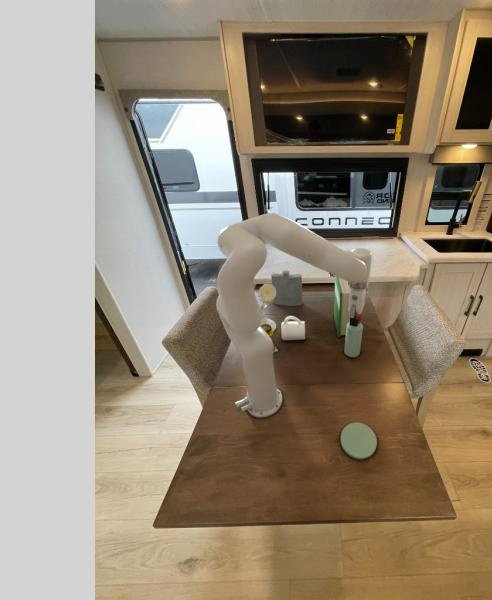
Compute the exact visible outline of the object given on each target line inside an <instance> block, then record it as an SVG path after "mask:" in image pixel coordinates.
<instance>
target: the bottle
mask: <svg viewBox="0 0 492 600" xmlns="http://www.w3.org/2000/svg"><path fill="white" fill-rule="evenodd" d="M349 324H350V322H348V323H347V328H346V335H345V338H344V339H345V341H344V349H343V350H344V355H346V356H347V357H349V358H357V357H358V356H359V355H360V353H361V346H362V338H363V332H364V331H363V330H364V325H363V324H362V322H360V324H358V326H357V327H355V326H350V325H349Z"/></svg>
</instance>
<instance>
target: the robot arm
mask: <svg viewBox="0 0 492 600" xmlns="http://www.w3.org/2000/svg"><path fill="white" fill-rule="evenodd" d="M216 242H217V246H218V249H219V251H220V252H221V254H222V255H224V257H226V258H227V259H226V260H225V262H224V263H223V265H222V266H221V268H220V270H219V272H218V275H217V277H216V286H217V290H218V291H217V292H218V296H217V298H216V311H217V313H218V316H219V319H220V321H221V323H222V326H223V328H224V331H225V332H226V335H227V337H228V338H229V340H230V342H232V344H233V346H234V347H235V349H236V350H237V351H238V353H239V355H240V357H241V360H242V365H241V367H242V372H243V376H244V382H245V385H246V388H247V393H246V394H245V395H246V396H245V397H244V398H243V399H240V400H237V401H235V402H234V405H235V407H236V409H238V408H240V409H241V412H242V413H243V412H244V411H247V412H248V413H249V414H250V415H251V416H253V417H256V418H267V417H270V416H272V415H274V414H275V413H277V411H279V410H280V408H281V406H282V404H283V394H282V392H281V390H280V389H279V388H278V387H277V381H276V374H275V365H274V353H273V351H274V345H273V342H272V340H271V338H270V337H269V335H268V334H267V333H266V332H265V331H264V330H263V329H262V327H260V324H261V312H260V308H259V305H258V304H259V303H258V302H259V301H258V300H257V295H256V293H255V289H254V280H255V277H256V276H257V274H258V273H259V272H260V271H261V269H263V267H264V265H265V263H266V261H267V258H268V249H267V247H266V245H267V244H268V245H270V246H272V247H273V248H274V249H277V250H278V251H280V252H283V253H284V254H287V255H288V256H291V257H293V258H296V259H298V260H301V261H302V262H305V263H306V264H308V265H311V266H313V267H315V268H317V269H320V270H322V271H325V272H327V273H328V274H332V275H334V276H335V275H336V276H338V277H340V278H342V279H344V280H346V281H348V287H349V288H350V296H349V312H351V314H350V324H349V325H350V326H355V327H357V326H358V314H361V315H362V313H363V310H364V307H365V305H366V297H367V296H366V295H367V289H368V288H369V285H370V275H371V265H372V257H373V254H372V251H370V250H369V249H368V248H364V247H363V248H362V247H358V248H357V247H356V248H354V249H352V250H343V249H342V248H340V247H338V246H337V245H335V244H334V243H332V242H330V241H329V240H327V239H325V238H324V237H322V236H320V235H318V234H317V233H315V232H314V231H311V230H310V229H308V228H306V226H303V225H302V224H300V223H298V222H296V221H294V220H293V219H291V218H288V217H286V216H283V215H281V214H279V213H276V212H269V213H264V214H261V215H257V216H253V217H251V218H248V219H245V220H241V221H239V222H235V223H232V224H229V225H227V226H225V227H224V228H223V229H222V230H221V231H220V232H219V234H218V236H217V241H216ZM355 313H356V315H355Z"/></svg>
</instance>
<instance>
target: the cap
mask: <svg viewBox="0 0 492 600" xmlns="http://www.w3.org/2000/svg"><path fill="white" fill-rule="evenodd" d="M355 315H356V313H355ZM360 323H362V313H361V314H358V324H360Z"/></svg>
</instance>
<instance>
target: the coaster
mask: <svg viewBox="0 0 492 600" xmlns="http://www.w3.org/2000/svg"><path fill="white" fill-rule="evenodd" d="M340 445H341V448H342V450H343V451H344V452H345V454H346V455H348V456H349V457H350V458H353V459H355V460H366V459H368V458H370V457H372V456H373V455H374V454H375V452H376V449H377V446H378V439H377V436H376V433H375V431H374V430H373V429H372V428H371V427H370V426H369V425H367V424H365V423H362V422H350V423H349V424H347V425H346V426H345V427H343V429H342V431H341V432H340Z"/></svg>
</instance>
